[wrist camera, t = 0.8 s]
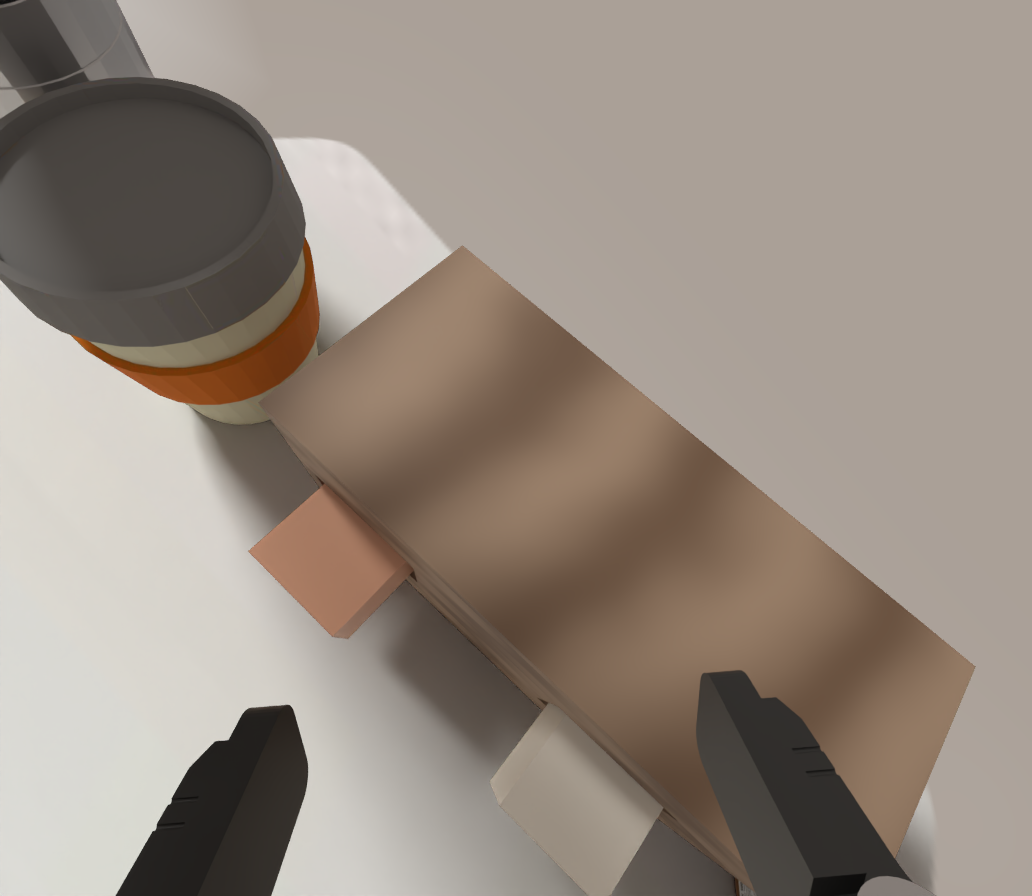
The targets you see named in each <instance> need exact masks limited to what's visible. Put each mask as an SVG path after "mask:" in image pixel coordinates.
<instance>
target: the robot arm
mask: <svg viewBox="0 0 1032 896" xmlns="http://www.w3.org/2000/svg"><path fill="white" fill-rule="evenodd" d="M124 77H146V78H154V76H153V74H152V72H151V70H150V68H149V66H148V64H147V62H146V59H145V57H144V55H143V53H142V51H141V50H140V47H139V45H138V43H137V41H136V39H135V37H134V35H133V33H132V31H131V29H130V27H129V25H128V23H127V21H126V19H125V17H124V15H123V13H122V11H121V9H120V7H119V5H118V3H117V1H116V0H0V119H1V118H2V117H4V116H5V115H7V114H8V113H10V112H11V111H13V110H14V109H16V108H18V107H19V106H21V105H22V104H24V103H26V102H28V101H31V100H33V99H35V98H37V97H39V96H42V95H44V94H46V93H48V92H51V91H54V90H57V89H61V88H64V87H67V86H71V85H74V84H77V83H82V82H88V81H94V80H100V79H106V78H124ZM696 739H697V746H698V750H699V755H700V758H701V761H702V764H703V767H704V769H705V772H706V774H707V777H708V779H709V781H710V784H711V786H712V789H713V791H714V794H715V796H716V798H717V801H718V803H719V806H720V808H721V811H722V813H723V815H724V818H725V820H726V823H727V825H728V828H729V830H730V832H731V835H732V837H733V840H734V842H735V845H736V847H737V849H738V852H739V854H740V857H741V859H742V862H743V864H744V866H745V869H746V871H747V874H748V876H749V879H750V881H751V883H752V886H753V888H754V891H755V893H756V896H935V895H934V894H933V893H931V892H930V891H928V890H926V889H925V888H923V887H921V886H919V885H917V884H915V883H913V882H912V881H911V880H910V878H909V877H908V876H907V875H906V874H905V872H904V871H903V870H902V868H901V867H900V866H899V864H898V863H897V861H896V860H895V858H894V857H893V855H892V854H891V852H890V851H889V849H888V848H887V846H886V845H885V843H884V842H883V840H882V839H881V837H880V836H879V834H878V833H877V831H876V830H875V828H874V827H873V825H872V824H871V822H870V821H869V819H868V818H867V816H866V815H865V813H864V812H863V810H862V808H861V807H860V805H859V804H858V802H857V801H856V799H855V798H854V796H853V795H852V793H851V792H850V790H849V789H848V787H847V786H846V784H845V783H844V781H843V780H842V778H841V777H840V775H837V774H836V772H835V768H834V766H833V765H832V763H831V762H830V760H829V759H828V757H827V756H826V754H825V753H824V751H823V752H822V751H821V749H820V745H819V744H818V742H817V741H816V739H815V738H814V736H813V735H812V733H811V732H810V730H809V729H808V727H807V726H806V724H805V722H804V721H803V719H802V718H800V717H799V716H798V715H797V714H796V713H794V712H793V711H792V710H791V709H790V708H789V707H787V706H786V705H785V704H784V703H783V702H782V701H780V700H779V699H778V698H777V697H772V698H761V697H760V695H759V694H758V692H757V690H756V689H755V687H754V685H753V684H752V682H751V680H750V679H749V677H748V676H747V674H746V673H745V672H744V671H742V670H735V671H722V672H710V673H703V674H702V676H701V680H700V690H699V701H698V712H697V723H696ZM307 780H308V762H307V757H306V754H305V750H304V746H303V743H302V739H301V736H300V732H299V728H298V725H297V721H296V717H295V714H294V711H293V708H292V707H291V706H290V705H281V706H269V707H256V708H249V709H247V710H246V711H245V712H244V713H243V714H242V716H241V718H240V720H239V721H238V723H237V725H236V727H235V729H234V731H233V733H232V735H231V737H230V738H229V740H226V741H215V742H214V743H213V744H212V745H211V746H210V747H209V748H208V749H207V750H206V751H205V752H204V753H203V754H202V755H201V757H200V758H199V759H198V760H197V761H196V762H195V763H194V764H193V765H192V766H191V767H190V768H189V769H188V771H187V773H186V774H185V776H184V778H183V780H182V781H181V783H180V785H179V787H178V788H177V790H176V792H175V794H174V795H173V797H172V802H171V804H170V805H168V806H167V807H166V809H165V811H164V813H163V814H162V816H161V818H160V820H159V821H158V823H157V828H156V830H155V831H153V832H152V834H151V835H150V837H149V839H148V840H147V842H146V844H145V846H144V847H143V849H142V851H141V853H140V854H139V856H138V858H137V860H136V861H135V863H134V865H133V867H132V868H131V870H130V872H129V873H128V875H127V877H126V879H125V880H124V882H123V884H122V886H121V887H120V889H119V891H118V893H117V894H116V896H271V895H272V892H273V889H274V886H275V883H276V880H277V877H278V874H279V871H280V868H281V865H282V862H283V859H284V856H285V853H286V850H287V847H288V844H289V841H290V838H291V835H292V832H293V829H294V826H295V823H296V820H297V817H298V814H299V811H300V808H301V805H302V802H303V799H304V796H305V792H306V787H307Z"/></svg>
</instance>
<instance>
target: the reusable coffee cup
mask: <svg viewBox="0 0 1032 896" xmlns="http://www.w3.org/2000/svg"><path fill="white" fill-rule="evenodd" d="M305 225H306V223H305V218H304V212H303V207H302V203H301V201H300V198H299V196H298V194H297V192H296V190H295V187H294V185H293V183H292V181H291V178H290V176H289V174H288V172H287V170H286V167H285V165H284V163H283V161H282V159H281V156H280V154H279V152H278V150H277V148H276V146H275V144H274V141H273V139H272V137H271V136H270V135H269V134H268V132H267V131H266V130H265V128H264V127H263V126H262V125H261V123H260V122H259V121H258V120H257V119H256V118H255V117H253V116H252V115H251V114H250V113H248V112H247V111H246V110H245V109H243V108H242V107H241V106H240V105H238V104H236V103H234V102H232V101H231V100H229V99H227V98H225V97H223V96H221V95H220V94H217V93H215V92H212V91H209V90H207V89H204V88H201V87H198V86H196V85H192V84H187V83H183V82H178V81H173V80H168V79H158V78H146V77H124V78H106V79H100V80H94V81H88V82H82V83H77V84H74V85H71V86H67V87H64V88H61V89H57V90H54V91H51V92H48V93H46V94H44V95H42V96H39V97H37V98H35V99H33V100H31V101H28V102H26V103H24V104H22V105H21V106H19V107H18V108H16V109H14V110H13V111H11V112H10V113H8V114H7V115H5V116H4V117H2V118H1V119H0V280H1V281H2V282H3V283H4V284H5V285H6V286H7V287H8V288H9V289H10V290H11V292H12V293H13V294H14V295H15V296H16V297H17V298H18V299H19V300H20V301H21V302H22V303H23V304H24V305H25V306H26V307H27V308H28V309H29V310H30V311H31V312H32V313H33V314H34V315H35V316H37V317H38V318H40V319H41V320H43V321H45V322H46V323H48V324H50V325H51V326H53V327H55V328H56V329H58V330H60V331H62V332H64V333H67V334H70V335H71V336H72V337H73V338H74V339H75V340H76V341H77V342H78V343H79V344H80V345H81V346H82V347H83V348H84V349H85V350H86V351H88V352H90V353H91V354H93V355H95V356H96V357H98V358H99V359H101V360H103V361H104V362H106V363H107V364H109V365H111V366H112V367H114V368H116V369H117V370H119V371H120V372H122V373H124V374H125V375H127V376H129V377H130V378H132V379H133V380H135V381H137V382H138V383H140V384H142V385H143V386H145V387H146V388H148V389H150V390H152V391H153V392H155V393H157V394H158V395H160V396H163V397H166V398H169V399H172V400H174V401H177V402H183V403H185V404H187V405H189V406H190V407H192V408H193V409H195V410H196V411H198V412H200V413H201V414H203V415H205V416H206V417H208V418H210V419H213V420H216V421H219V422H222V423H228V424H235V425H244V424H255V423H260V422H265V421H268V420H270V418H269V417H268V415H267V414H266V413H265V411H264V410H263V409H262V407H261V406H260V404H259V403H258V402H259V401H261V400H262V399H263V398H265V397H266V396H267V395H269V394H270V393H271V392H272V391H274V390H275V389H276V388H278V387H279V386H280V385H282V384H283V383H284V382H286V381H287V380H288V379H289V378H291V377H292V376H293V375H295V374H296V373H297V372H299V371H300V370H301V369H302V368H304V367H305V366H306V365H308V364H309V363H310V362H312V361H313V360H314V359H315V358H317V357H318V356H319V355H318V348H317V341H316V336H317V333H318V329H319V315H320V313H319V305H318V297H317V290H316V282H315V274H314V267H313V261H312V255H311V250H310V247H309V244H308V242H307V240H306V238H305Z"/></svg>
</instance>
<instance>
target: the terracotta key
mask: <svg viewBox="0 0 1032 896" xmlns="http://www.w3.org/2000/svg"><path fill="white" fill-rule="evenodd" d="M248 552H249V553H250V554H251V555H252V556H253V557H254V558H255V559H256V560H257V561H258V562H259V563H260V564H261V565H262V566H263V567H264V568H265V569H266V570H267V571H268V572H269V573H270V574H271V575H272V576H273V577H274V578H275V579H276V580H277V581H278V582H279V583H280V584H281V585H282V586H283V587H284V588H285V589H286V590H287V591H288V592H289V593H290V594H291V595H292V596H293V597H294V598H295V599H296V600H297V601H298V602H299V603H300V604H301V605H302V606H303V607H304V608H305V609H306V610H307V611H308V612H309V614H310V615H311V616H312V617H313V618H314V619H315V620H316V621H317V622H318V623H319V624H320V625H321V626H322V627H323V628H324V629H325V630H326V631H327V632H328V633H329V634H330V635H331V636H332V637H338V638H345V639H348V638H349V637H350V636H351V635H352V634H353V633H354V632H355V631H356V630H357V629H358V628H359V627H360V626H361V625H362V624H363V623H364V622H365V621H366V620H367V619H368V618H369V617H370V616H371V615H372V614H373V612H374V611H375V610H376V609H377V608H378V607H379V606H380V605H381V604H382V603H383V602H384V601H385V600H386V599H387V598H388V597H389V596H390V595H391V594H392V593H393V592H394V591H395V590H396V589H397V588H398V587H399V585H400V584H401V583H402V582H403V581H404V580H405V579H406V578H407V577H408V576H409V575H410V574H411V573H412V572H413V571H414V569H413V567H412V566H410V565H409V564H408V563H407V562H406V561H405V560H404V559H403V558H402V557H401V556H400V555H399V554H398V553H397V552H396V551H395V550H394V549H393V548H392V547H391V546H390V545H389V544H387V543H386V542H385V541H384V540H383V539H382V538H381V537H380V536H379V535H378V534H377V533H376V532H375V531H374V530H373V529H372V528H371V527H370V526H369V525H368V524H367V523H366V522H364V521H363V520H362V519H361V518H360V517H359V516H358V515H357V514H356V513H355V512H354V511H353V510H352V509H351V508H350V507H349V506H348V505H347V504H346V503H345V502H344V501H343V500H341V499H340V498H339V497H338V496H337V495H336V494H335V493H334V492H333V491H332V490H331V489H330V488H329V487H328V486H327V485H326V484H324V485H323V486H321V487H320V488H319V489H318V490H317V491H316V492H315V493H314V494H312V495H311V496H310V497H309V498H308V499H307V500H306V501H304V502H303V503H302V504H301V505H300V506H299V507H298V508H297V509H295V510H294V511H293V512H292V513H291V514H290V515H289V516H287V517H286V518H285V519H284V520H283V521H282V522H281V523H280V524H278V525H277V526H276V527H275V528H274V529H273V530H272V531H271V532H269V533H268V534H267V535H266V536H265V537H264V538H263V539H261V540H260V541H259V542H258V543H257V544H256V545H255V546H254V547H252V548H251V549H250V550H249V551H248Z"/></svg>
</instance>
